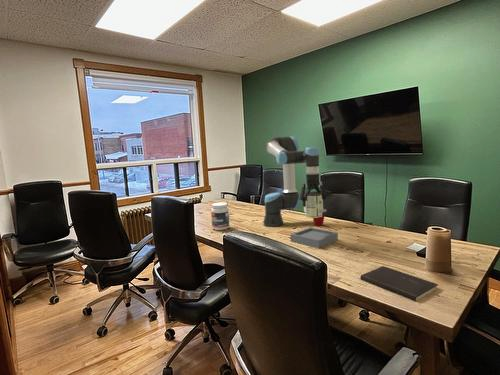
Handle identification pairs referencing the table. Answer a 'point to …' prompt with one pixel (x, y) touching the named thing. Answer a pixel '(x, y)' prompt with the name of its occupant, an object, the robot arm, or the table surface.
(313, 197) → the coffee can
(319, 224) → the plastic cup
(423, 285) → the hardcover book
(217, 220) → the supplement tub
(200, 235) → the table surface
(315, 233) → the grey square tray
